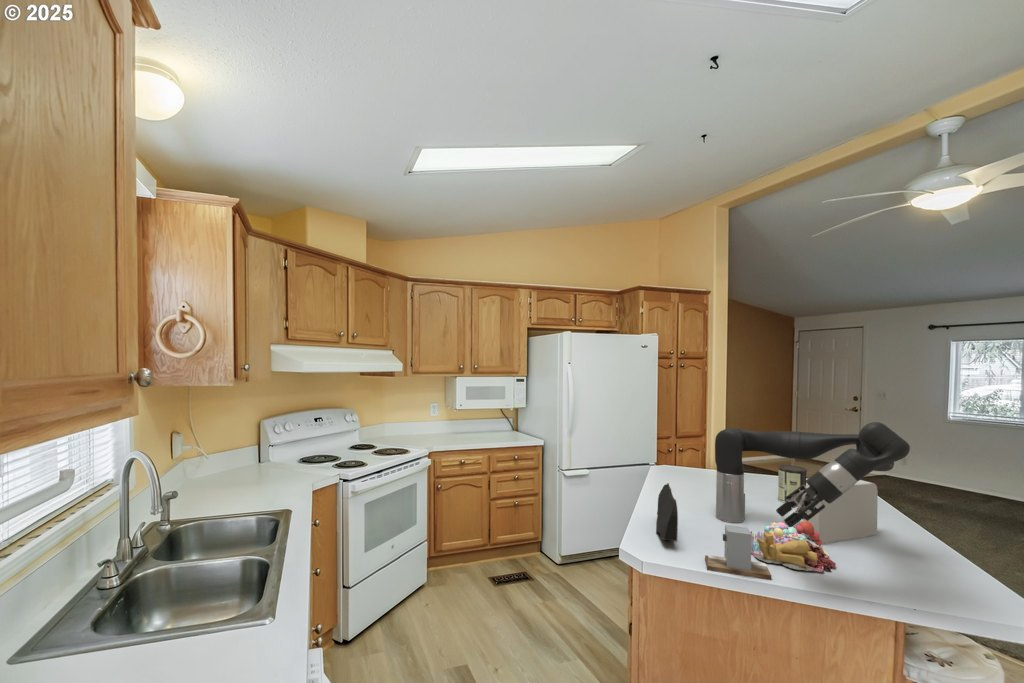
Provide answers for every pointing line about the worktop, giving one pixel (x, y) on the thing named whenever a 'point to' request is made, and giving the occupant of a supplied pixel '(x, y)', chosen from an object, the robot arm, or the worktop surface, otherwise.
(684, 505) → the worktop surface
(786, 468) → the coffee can
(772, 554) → the candy landscape model
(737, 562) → the breaker module
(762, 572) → the DIN rail board
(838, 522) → the rounded-edge off-white block
